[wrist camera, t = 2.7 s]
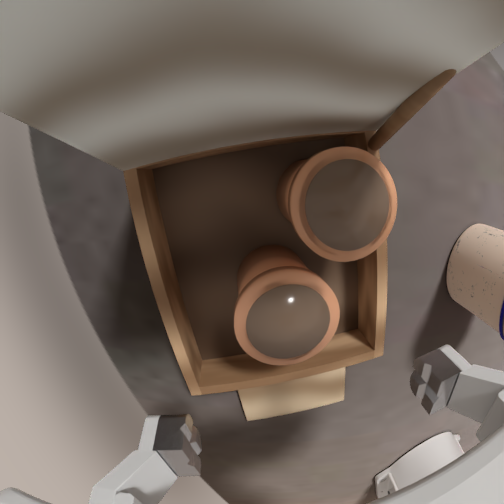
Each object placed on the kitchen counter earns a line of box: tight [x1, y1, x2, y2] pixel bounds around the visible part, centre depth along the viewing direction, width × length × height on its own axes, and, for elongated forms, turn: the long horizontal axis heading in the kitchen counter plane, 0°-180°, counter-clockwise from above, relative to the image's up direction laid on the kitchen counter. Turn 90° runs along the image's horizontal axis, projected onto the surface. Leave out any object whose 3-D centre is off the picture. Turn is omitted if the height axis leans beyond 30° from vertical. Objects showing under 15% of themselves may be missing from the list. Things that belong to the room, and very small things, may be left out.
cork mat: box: [238, 367, 345, 421], centre depth 24 cm, size 7×10×1 cm
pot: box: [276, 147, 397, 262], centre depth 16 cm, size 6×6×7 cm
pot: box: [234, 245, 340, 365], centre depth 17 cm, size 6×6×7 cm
